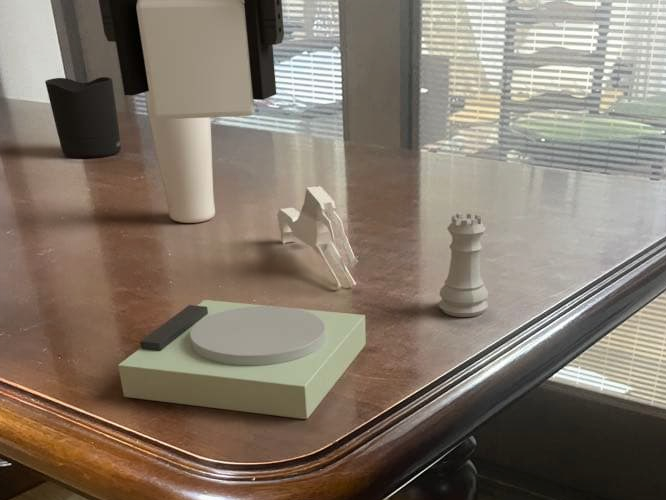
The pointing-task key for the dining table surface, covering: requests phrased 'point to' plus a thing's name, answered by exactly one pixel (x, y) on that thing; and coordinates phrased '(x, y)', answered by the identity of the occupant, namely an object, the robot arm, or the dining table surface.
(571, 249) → the dining table surface
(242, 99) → the medicine bottle
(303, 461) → the dining table surface
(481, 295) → the rook chess piece
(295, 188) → the dining table surface
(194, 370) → the scale
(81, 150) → the pen holder
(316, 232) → the white angular pronged piece
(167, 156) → the drinking glass
